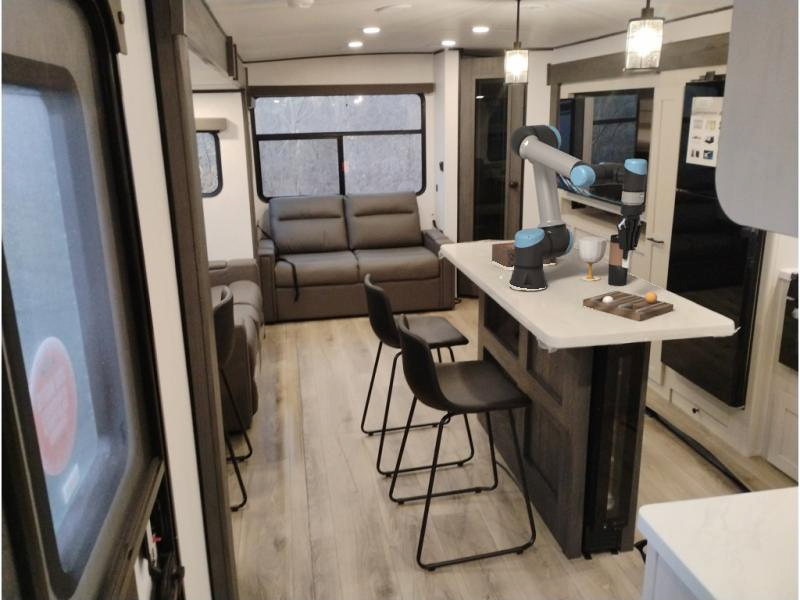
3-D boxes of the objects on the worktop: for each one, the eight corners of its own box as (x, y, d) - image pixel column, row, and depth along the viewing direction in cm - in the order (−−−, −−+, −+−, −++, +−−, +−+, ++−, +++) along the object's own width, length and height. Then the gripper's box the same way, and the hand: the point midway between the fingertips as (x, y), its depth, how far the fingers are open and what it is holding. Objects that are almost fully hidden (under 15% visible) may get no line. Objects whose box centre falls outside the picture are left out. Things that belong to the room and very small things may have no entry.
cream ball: (602, 293, 236) (608, 297, 238) (598, 303, 236) (604, 307, 238) (611, 295, 233) (617, 299, 235) (607, 305, 233) (613, 309, 235)
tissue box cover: (506, 271, 294) (507, 249, 291) (491, 265, 307) (492, 244, 304) (555, 265, 302) (556, 244, 299) (539, 259, 315) (539, 239, 312)
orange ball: (642, 302, 231) (643, 291, 230) (649, 300, 233) (650, 290, 232) (652, 305, 228) (653, 294, 227) (659, 303, 230) (660, 292, 229)
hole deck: (582, 306, 238) (583, 298, 237) (615, 297, 248) (616, 289, 247) (639, 321, 219) (640, 312, 218) (672, 311, 229) (673, 302, 228)
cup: (574, 281, 273) (576, 241, 268) (576, 274, 283) (578, 236, 279) (603, 282, 269) (606, 242, 264) (604, 276, 280) (607, 237, 275)
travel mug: (628, 282, 268) (632, 235, 262) (624, 287, 261) (628, 238, 256) (609, 281, 271) (612, 233, 266) (605, 285, 265) (608, 236, 260)
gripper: (629, 206, 225) (623, 272, 232) (652, 202, 232) (645, 266, 239) (612, 203, 231) (606, 268, 238) (634, 200, 238) (628, 262, 245)
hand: (626, 267), depth 239 cm, fingers closed
